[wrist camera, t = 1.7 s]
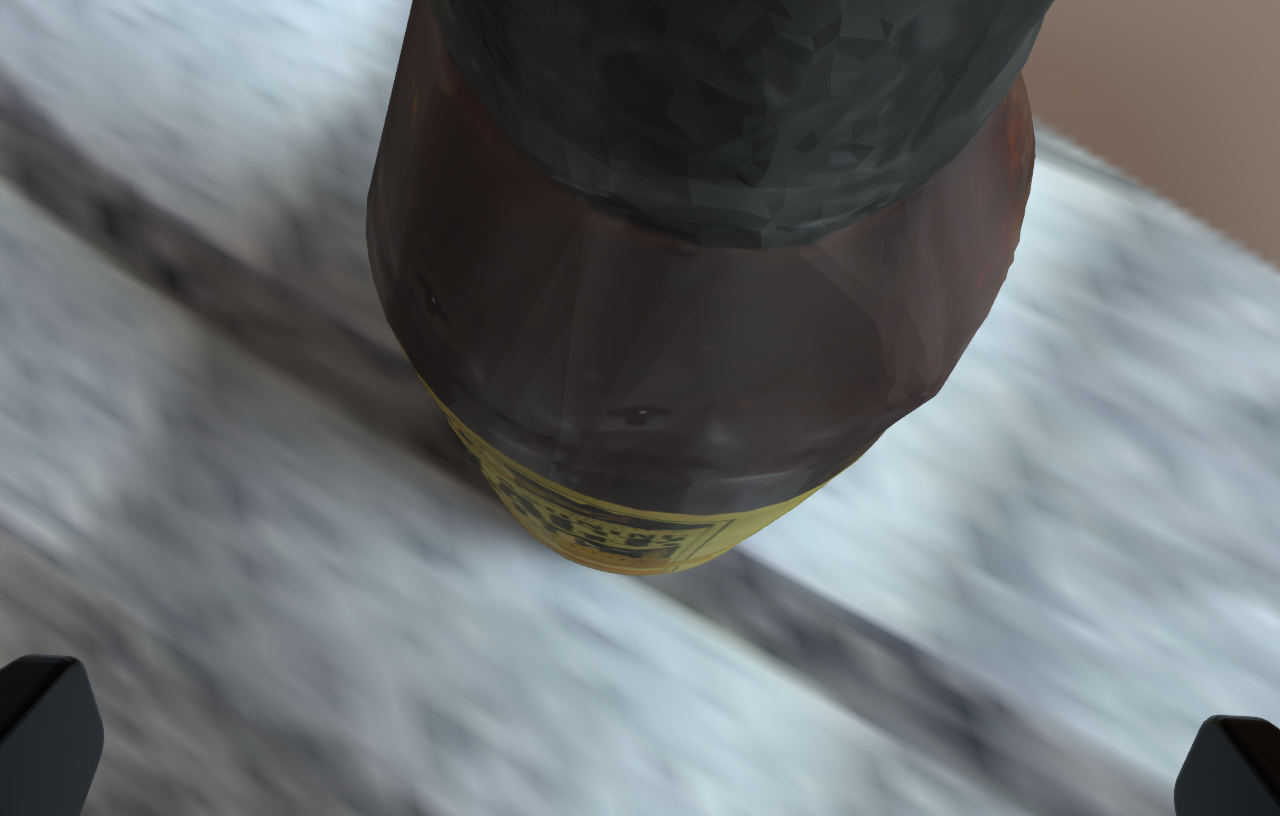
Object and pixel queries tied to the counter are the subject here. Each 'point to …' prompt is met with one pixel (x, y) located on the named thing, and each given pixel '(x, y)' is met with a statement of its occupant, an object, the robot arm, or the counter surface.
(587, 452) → the sauce bottle
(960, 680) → the counter surface
